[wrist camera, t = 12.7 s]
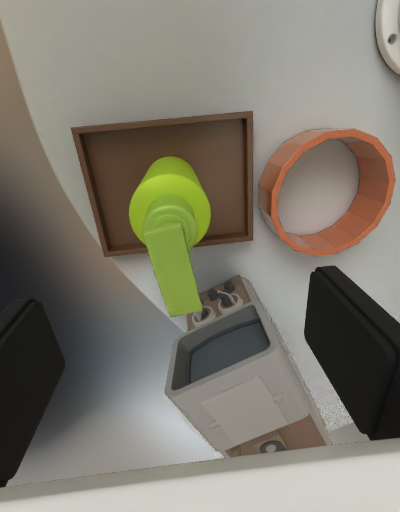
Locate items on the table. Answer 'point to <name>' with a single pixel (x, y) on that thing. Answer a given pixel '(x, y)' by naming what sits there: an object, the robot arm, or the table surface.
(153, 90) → the table surface
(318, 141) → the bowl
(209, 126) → the tray
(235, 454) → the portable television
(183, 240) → the soap dispenser
